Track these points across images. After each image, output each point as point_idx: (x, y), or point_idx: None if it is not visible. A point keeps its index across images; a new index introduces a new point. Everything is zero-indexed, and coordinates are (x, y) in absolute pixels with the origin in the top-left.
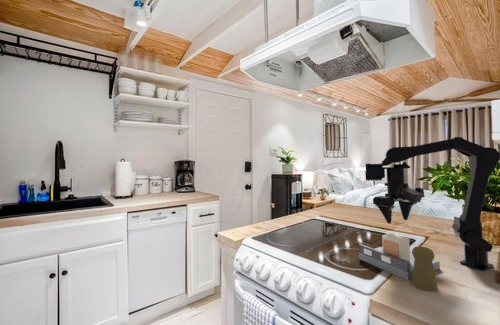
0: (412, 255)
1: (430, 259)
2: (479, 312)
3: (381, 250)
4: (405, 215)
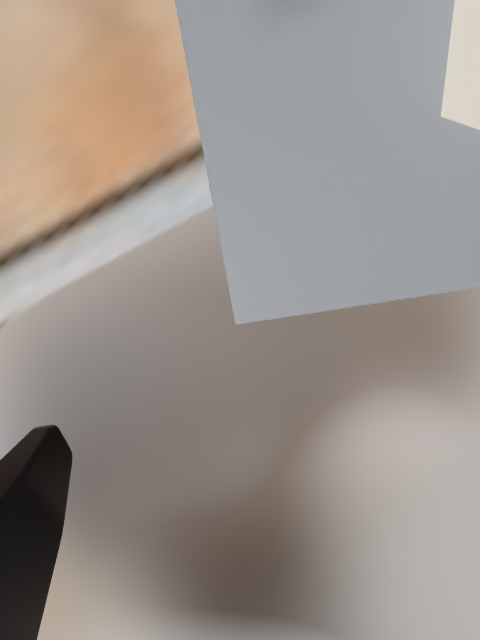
0: (261, 44)
1: None
2: None
3: (395, 249)
4: (29, 513)
